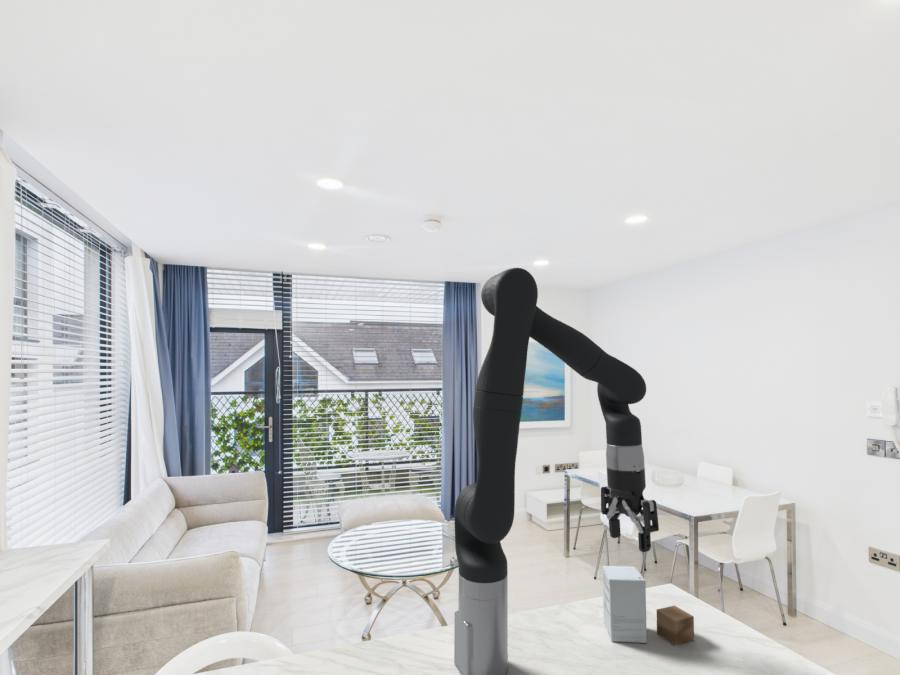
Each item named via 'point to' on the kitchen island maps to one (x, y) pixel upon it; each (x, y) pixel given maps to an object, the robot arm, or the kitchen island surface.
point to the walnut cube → (675, 625)
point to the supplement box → (624, 604)
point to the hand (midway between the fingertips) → (629, 543)
